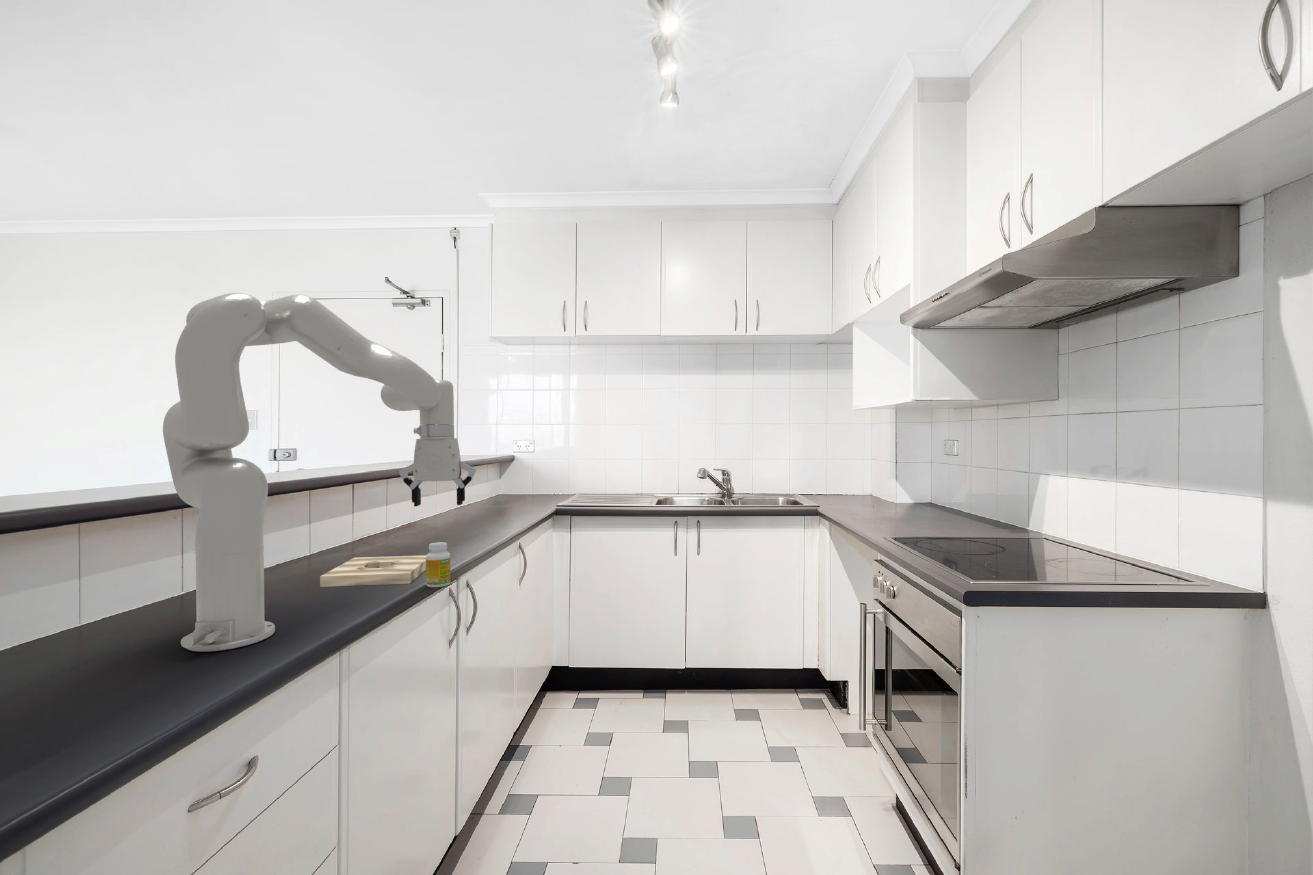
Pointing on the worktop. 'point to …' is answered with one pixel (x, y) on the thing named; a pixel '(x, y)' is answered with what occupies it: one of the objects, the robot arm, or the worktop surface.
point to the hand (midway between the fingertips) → (438, 505)
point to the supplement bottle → (438, 565)
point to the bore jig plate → (375, 571)
